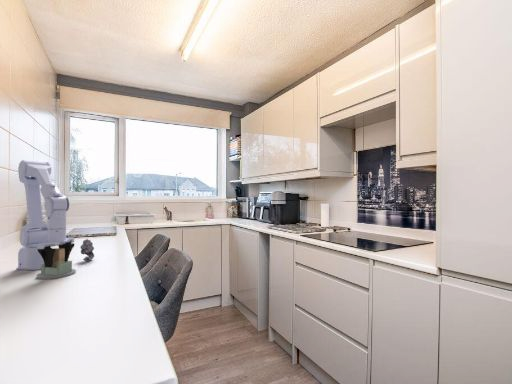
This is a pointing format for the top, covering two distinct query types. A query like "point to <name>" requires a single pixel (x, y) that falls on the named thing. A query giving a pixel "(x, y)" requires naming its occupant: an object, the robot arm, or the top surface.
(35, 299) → the top surface
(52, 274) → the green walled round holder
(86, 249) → the grey lumpy tree figurine
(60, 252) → the tan wooden block
